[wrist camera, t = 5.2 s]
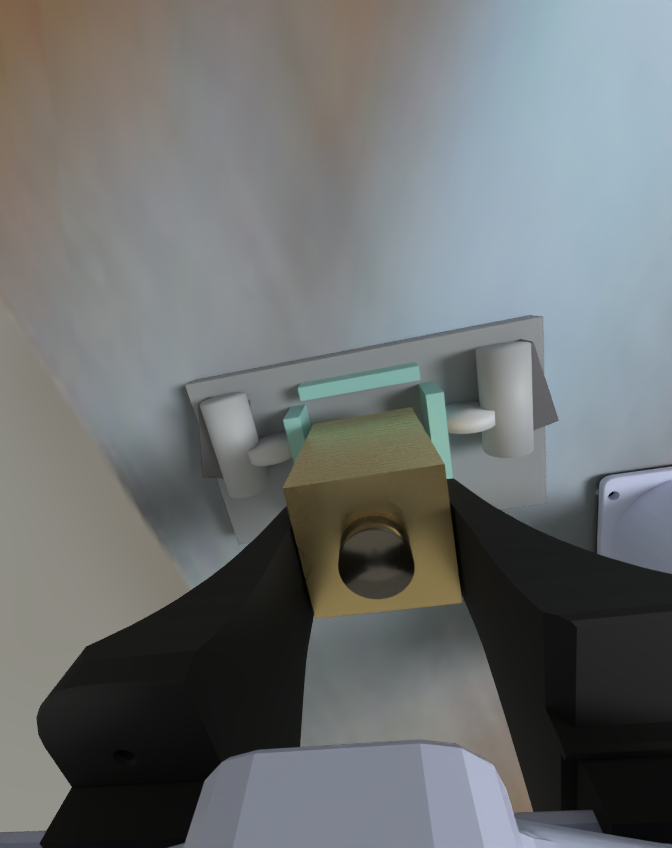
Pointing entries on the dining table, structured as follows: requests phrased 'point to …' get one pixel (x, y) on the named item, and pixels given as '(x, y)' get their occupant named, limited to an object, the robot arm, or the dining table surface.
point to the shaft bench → (379, 392)
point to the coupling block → (373, 516)
